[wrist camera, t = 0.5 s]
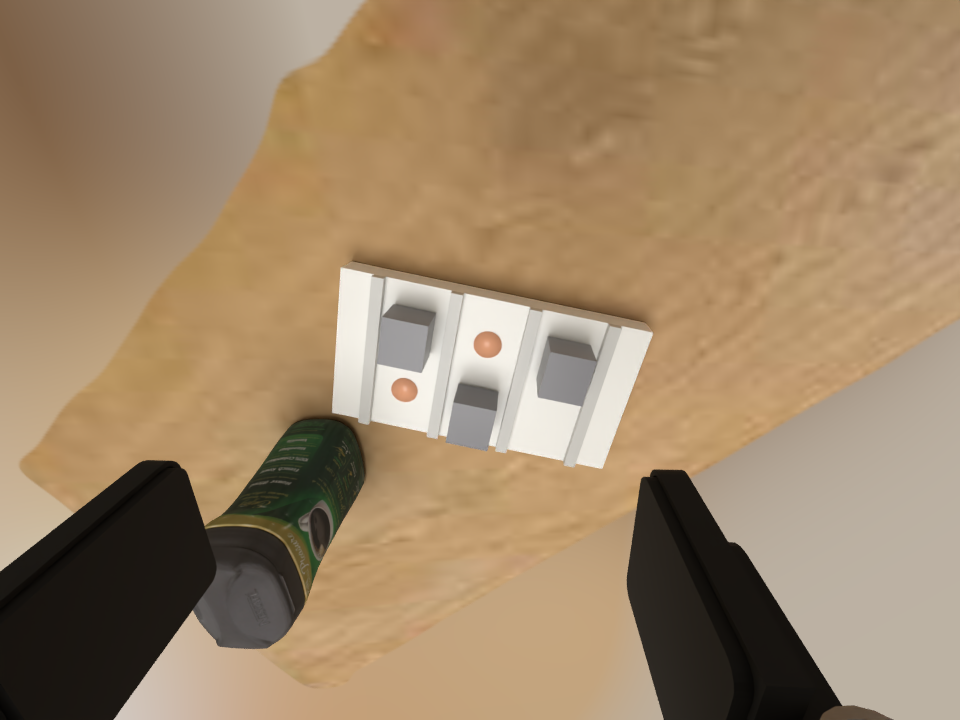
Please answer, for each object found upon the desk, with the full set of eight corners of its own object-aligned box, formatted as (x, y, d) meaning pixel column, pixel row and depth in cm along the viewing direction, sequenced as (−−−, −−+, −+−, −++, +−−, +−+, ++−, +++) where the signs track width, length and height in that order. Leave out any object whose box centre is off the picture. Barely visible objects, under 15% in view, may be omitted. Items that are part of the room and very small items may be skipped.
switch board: (351, 261, 39) (337, 269, 36) (645, 322, 39) (655, 335, 36) (341, 399, 44) (329, 416, 42) (597, 453, 45) (603, 473, 42)
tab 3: (547, 335, 37) (550, 351, 34) (590, 344, 37) (596, 361, 34) (536, 378, 39) (537, 397, 36) (577, 387, 39) (582, 406, 36)
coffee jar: (280, 416, 46) (140, 565, 29) (354, 413, 45) (255, 564, 28) (304, 491, 50) (193, 661, 33) (373, 490, 49) (295, 664, 32)
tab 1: (393, 303, 37) (381, 316, 34) (436, 312, 37) (428, 326, 34) (388, 347, 39) (376, 363, 35) (429, 356, 39) (421, 373, 35)
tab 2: (458, 383, 39) (453, 402, 36) (498, 391, 39) (496, 411, 36) (451, 421, 41) (445, 442, 38) (489, 429, 41) (487, 451, 38)
